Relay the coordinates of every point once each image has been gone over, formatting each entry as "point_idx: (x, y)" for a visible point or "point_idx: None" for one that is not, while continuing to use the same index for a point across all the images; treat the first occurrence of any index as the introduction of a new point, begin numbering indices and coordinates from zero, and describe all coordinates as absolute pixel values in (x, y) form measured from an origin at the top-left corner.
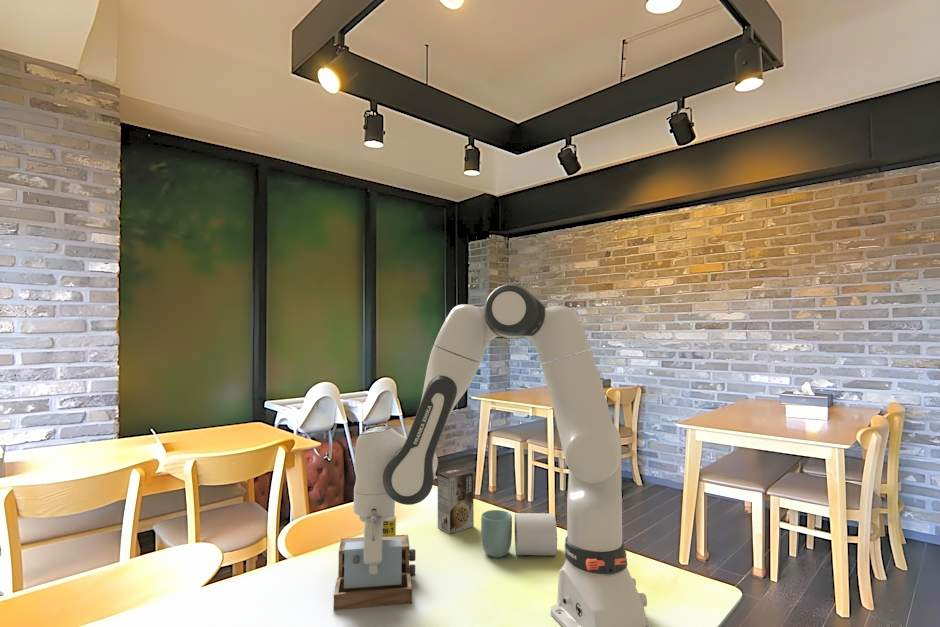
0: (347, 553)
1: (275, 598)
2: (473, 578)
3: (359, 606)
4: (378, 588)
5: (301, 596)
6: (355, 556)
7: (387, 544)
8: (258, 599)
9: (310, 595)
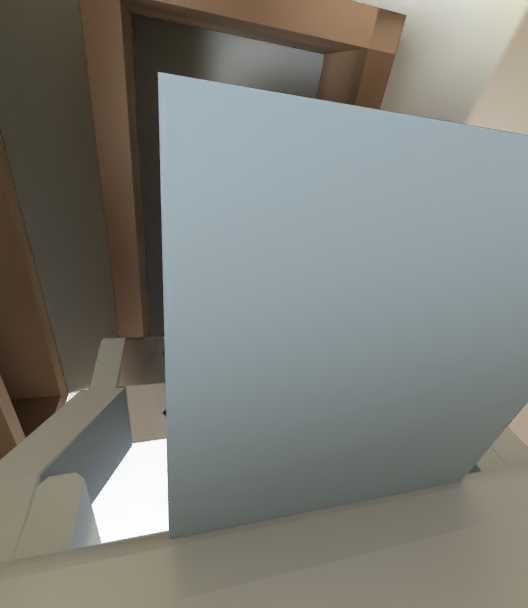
0: None
1: (160, 507)
2: None
3: None
4: (143, 226)
5: (158, 466)
6: None
7: (412, 442)
8: (159, 530)
9: (155, 449)
